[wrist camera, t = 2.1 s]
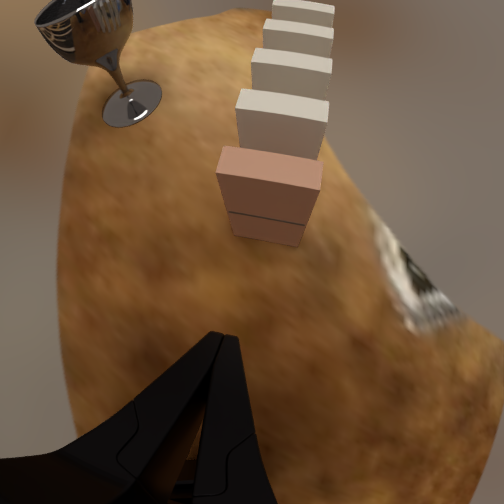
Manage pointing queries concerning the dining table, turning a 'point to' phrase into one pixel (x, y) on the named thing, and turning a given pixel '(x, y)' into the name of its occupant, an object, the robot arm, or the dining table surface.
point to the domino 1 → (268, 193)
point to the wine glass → (100, 51)
